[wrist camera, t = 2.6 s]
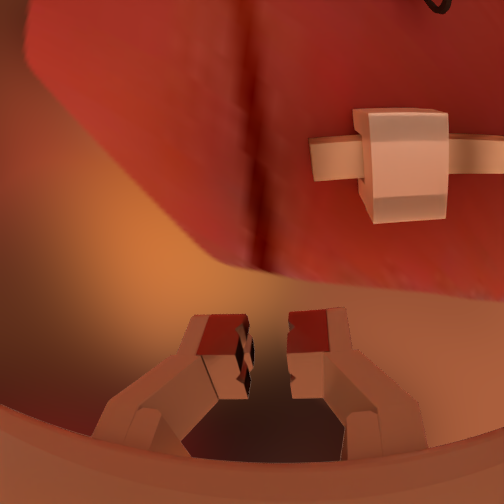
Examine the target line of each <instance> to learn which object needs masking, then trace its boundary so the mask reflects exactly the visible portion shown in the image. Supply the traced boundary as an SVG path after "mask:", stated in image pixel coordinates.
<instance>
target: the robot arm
mask: <svg viewBox="0 0 504 504" xmlns="http://www.w3.org/2000/svg"><path fill="white" fill-rule="evenodd" d="M288 322H289V331H290V332H289V333H288V337H287V360H288V368H289V373H291V381H290V385H291V391H292V398H324V400H325V401H326V403H327V404H328V405H329V407H330V408H331V409H332V411H333V412H334V413H335V415H336V416H337V417H338V419H339V420H340V421H341V422H342V424H343V425H344V427H345V433H344V439H343V446H342V452H341V458H340V461H334V462H316V463H251V462H234V461H221V460H210V459H201V458H192V457H191V456H190V454H189V453H188V452H187V450H186V449H185V447H184V446H183V445H182V443H181V442H180V441H181V440H182V439H183V438H184V437H185V436H186V435H187V434H188V433H189V432H190V431H191V429H193V428H194V426H195V425H196V424H197V423H198V422H199V421H200V420H201V419H202V418H203V417H204V416H205V414H206V413H207V412H208V411H209V410H210V409H211V408H212V407H213V406H214V405H215V404H216V403H217V401H218V399H248V397H249V390H250V384H251V377H250V373H249V372H250V371H251V370H252V369H253V366H254V353H255V352H254V351H255V350H254V342H253V338H252V336H251V335H250V334H249V333H248V332H249V327H250V324H249V320H248V316H247V315H246V314H212V315H194V316H193V317H192V318H191V320H190V322H189V325H188V327H187V330H186V332H185V334H184V337H183V339H182V342H181V344H180V347H179V349H178V351H177V354H176V355H170V356H169V357H168V358H166V359H165V360H164V361H162V362H161V363H160V364H158V365H157V366H156V367H154V368H153V369H152V370H150V371H149V372H147V373H146V374H145V375H143V376H142V377H141V378H140V379H138V380H137V381H135V382H134V383H132V384H131V385H130V386H128V387H127V388H126V389H124V390H123V391H121V392H120V393H119V394H117V395H116V396H115V397H113V398H112V399H110V400H109V401H108V403H107V405H106V407H105V409H104V411H103V413H102V416H101V418H100V420H99V422H98V424H97V426H96V428H95V430H94V432H93V434H92V436H91V437H89V436H86V435H82V434H79V433H76V432H72V431H69V430H66V429H63V428H60V427H57V426H54V425H51V424H49V423H46V422H43V421H40V420H38V419H35V418H32V417H30V416H27V415H25V414H22V413H20V412H17V411H15V410H13V409H10V408H8V407H6V406H3V405H1V404H0V504H504V427H502V428H499V429H497V430H493V431H490V432H488V433H484V434H481V435H478V436H475V437H471V438H467V439H464V440H460V441H457V442H453V443H449V444H445V445H440V446H436V447H432V448H428V444H427V440H426V435H425V430H424V426H423V421H422V417H421V412H420V408H419V404H418V402H417V401H416V400H415V399H414V398H413V397H411V396H410V395H409V394H408V393H407V392H406V391H405V390H403V389H402V388H401V387H400V386H399V385H398V384H396V382H394V381H393V380H392V379H391V378H390V377H389V376H387V375H386V374H385V373H384V372H383V371H382V370H381V369H380V368H378V367H377V366H376V365H375V364H374V363H373V362H372V361H371V360H369V359H368V358H367V357H366V356H365V355H364V354H362V353H361V352H360V351H359V350H352V343H351V337H350V331H349V324H348V318H347V313H346V308H345V307H337V308H328V309H322V310H309V311H295V312H289V319H288Z"/></svg>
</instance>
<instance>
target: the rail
mask: <svg viewBox="0 0 504 504" xmlns="http://www.w3.org/2000/svg"><path fill="white" fill-rule="evenodd" d="M308 140H309V148H310V156H311V165H312V173H313V178H314V182H315V181H326V180H338V179H352V178H364V160H363V145H362V135H345V136H331V137H319V138H308ZM448 174H504V136H498V135H482V134H460V133H449V173H448Z"/></svg>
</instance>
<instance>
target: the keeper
mask: <svg viewBox="0 0 504 504" xmlns="http://www.w3.org/2000/svg"><path fill="white" fill-rule="evenodd" d="M352 112H353V122H354V130H355V131H357V132H358V133H359V134H361V135H362V145H363V160H364V178H358V193H359V195H360V197H361V199H362V201H363V203H364V204H365V206H366V210H367V212H368V214H369V216H370V218H371V220H372V222H373V224H379V223H392V222H406V221H420V220H434V219H446V209H447V194H448V173H449V124H448V113H445V112H441V111H437V110H433V109H420V108H364V109H352Z"/></svg>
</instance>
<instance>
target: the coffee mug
mask: <svg viewBox="0 0 504 504" xmlns="http://www.w3.org/2000/svg"><path fill="white" fill-rule="evenodd" d="M424 1H425V2H426V4H427V5H428V6H429V8H430V9H431V10H432V11H433V12H435V13H438V14H445V13H446V12H447V11H448V10H449V8H450V6H451V1H452V0H443V1H442V3H441V5H440V6H439V7H437V6H436V4H435V3H433V1H432V0H424Z"/></svg>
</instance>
